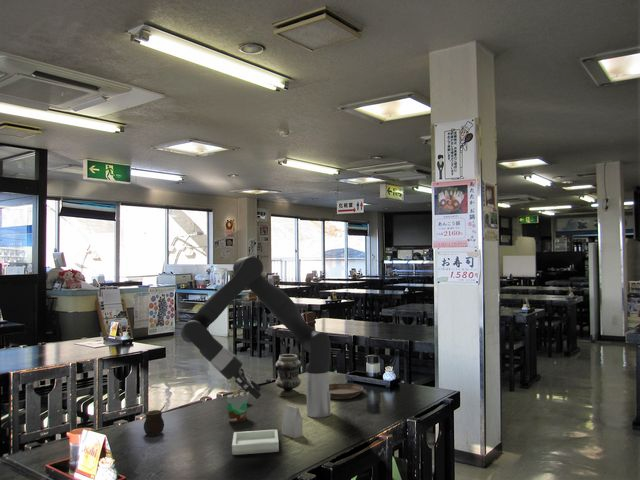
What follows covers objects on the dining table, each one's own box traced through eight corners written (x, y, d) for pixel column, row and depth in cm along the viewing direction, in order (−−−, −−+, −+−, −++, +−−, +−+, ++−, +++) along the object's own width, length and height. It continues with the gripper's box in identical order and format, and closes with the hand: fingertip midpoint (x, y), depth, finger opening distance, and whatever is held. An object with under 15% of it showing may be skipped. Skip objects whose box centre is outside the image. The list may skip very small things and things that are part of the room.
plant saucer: (322, 389, 247) (321, 382, 247) (364, 389, 244) (364, 382, 244) (315, 400, 226) (315, 393, 227) (362, 401, 224) (361, 393, 224)
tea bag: (294, 438, 178) (294, 409, 178) (282, 434, 183) (281, 405, 183) (302, 435, 180) (301, 407, 181) (290, 431, 185) (289, 403, 186)
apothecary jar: (300, 397, 232) (299, 357, 233) (274, 397, 232) (273, 358, 233) (301, 390, 244) (301, 352, 245) (277, 391, 244) (276, 353, 245)
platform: (264, 404, 223) (263, 389, 223) (227, 412, 212) (226, 396, 212) (250, 399, 233) (250, 384, 233) (214, 406, 221) (214, 391, 222)
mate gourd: (142, 432, 188) (142, 405, 188) (164, 429, 191) (163, 402, 192) (144, 438, 181) (144, 410, 182) (166, 435, 184) (165, 407, 185)
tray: (277, 438, 178) (277, 429, 178) (278, 451, 165) (278, 442, 166) (234, 441, 176) (233, 432, 177) (232, 454, 164) (232, 445, 164)
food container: (242, 424, 194) (242, 398, 195) (227, 424, 196) (227, 397, 196) (253, 415, 206) (252, 390, 207) (239, 414, 208) (238, 389, 208)
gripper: (232, 358, 173) (267, 390, 174) (234, 351, 187) (266, 381, 188) (217, 375, 172) (251, 407, 173) (220, 366, 186) (252, 396, 187)
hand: (259, 393), depth 181 cm, fingers open, 8 cm apart
